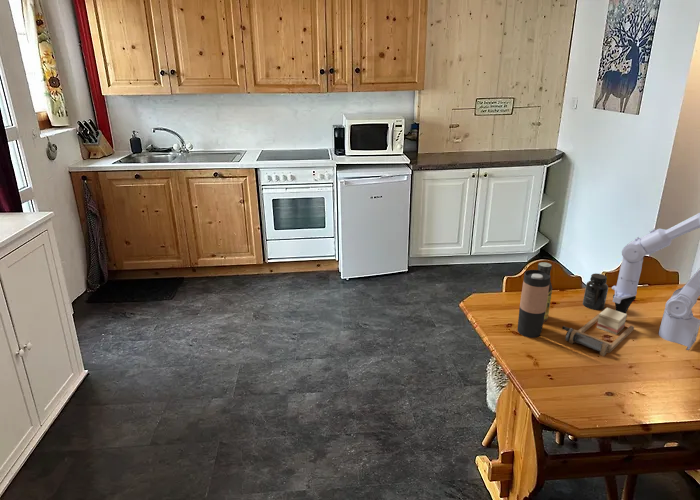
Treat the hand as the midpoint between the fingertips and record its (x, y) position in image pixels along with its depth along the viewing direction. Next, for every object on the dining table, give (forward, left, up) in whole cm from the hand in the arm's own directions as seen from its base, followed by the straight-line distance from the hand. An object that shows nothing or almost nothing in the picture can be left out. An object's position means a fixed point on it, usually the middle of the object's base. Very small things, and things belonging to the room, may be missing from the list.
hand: (620, 315), depth 159 cm
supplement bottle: (+10, -4, -3) cm, 11 cm away
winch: (+1, +24, -2) cm, 25 cm away
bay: (0, +13, -2) cm, 13 cm away
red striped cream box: (0, +7, -2) cm, 8 cm away
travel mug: (+17, +27, -3) cm, 32 cm away
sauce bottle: (+19, +18, -3) cm, 26 cm away
